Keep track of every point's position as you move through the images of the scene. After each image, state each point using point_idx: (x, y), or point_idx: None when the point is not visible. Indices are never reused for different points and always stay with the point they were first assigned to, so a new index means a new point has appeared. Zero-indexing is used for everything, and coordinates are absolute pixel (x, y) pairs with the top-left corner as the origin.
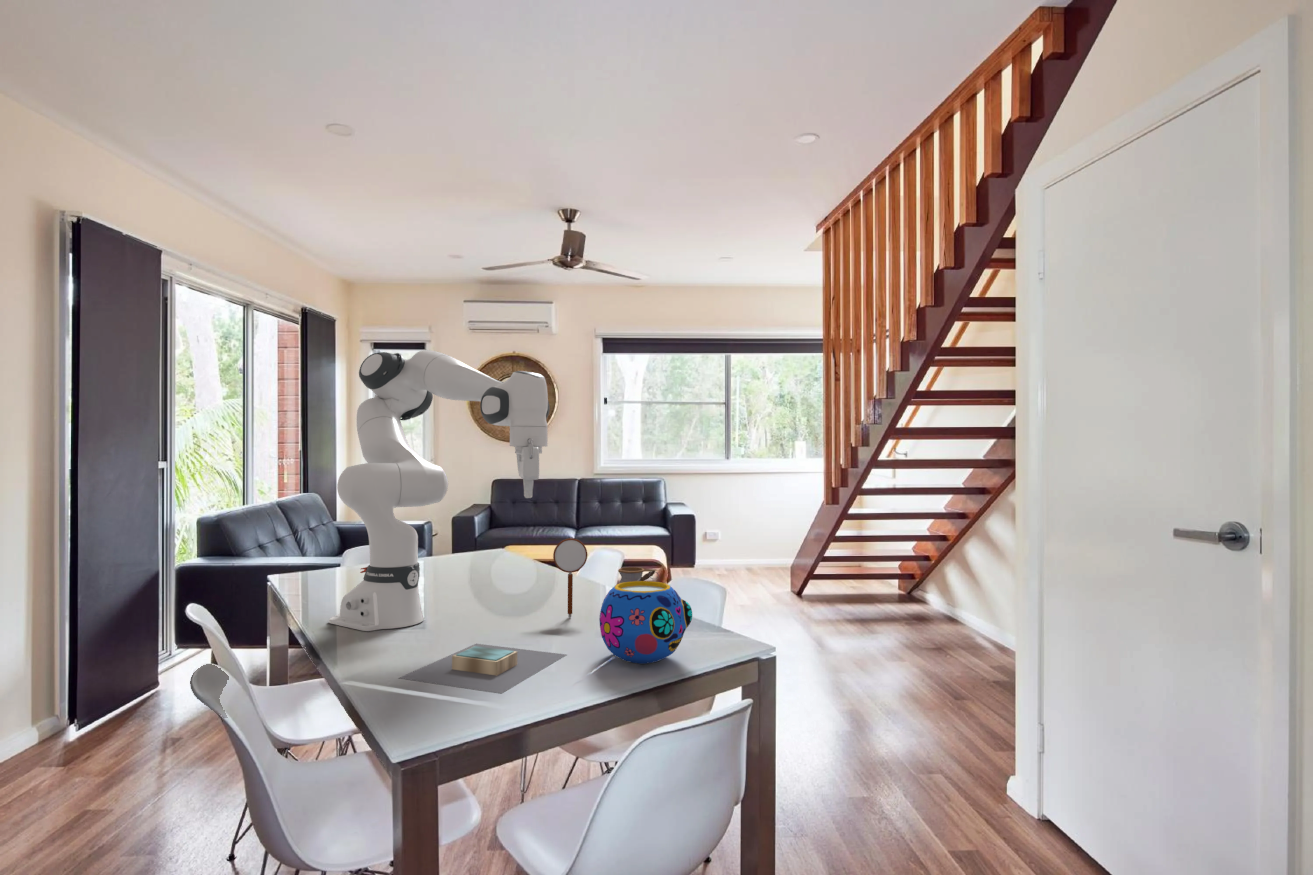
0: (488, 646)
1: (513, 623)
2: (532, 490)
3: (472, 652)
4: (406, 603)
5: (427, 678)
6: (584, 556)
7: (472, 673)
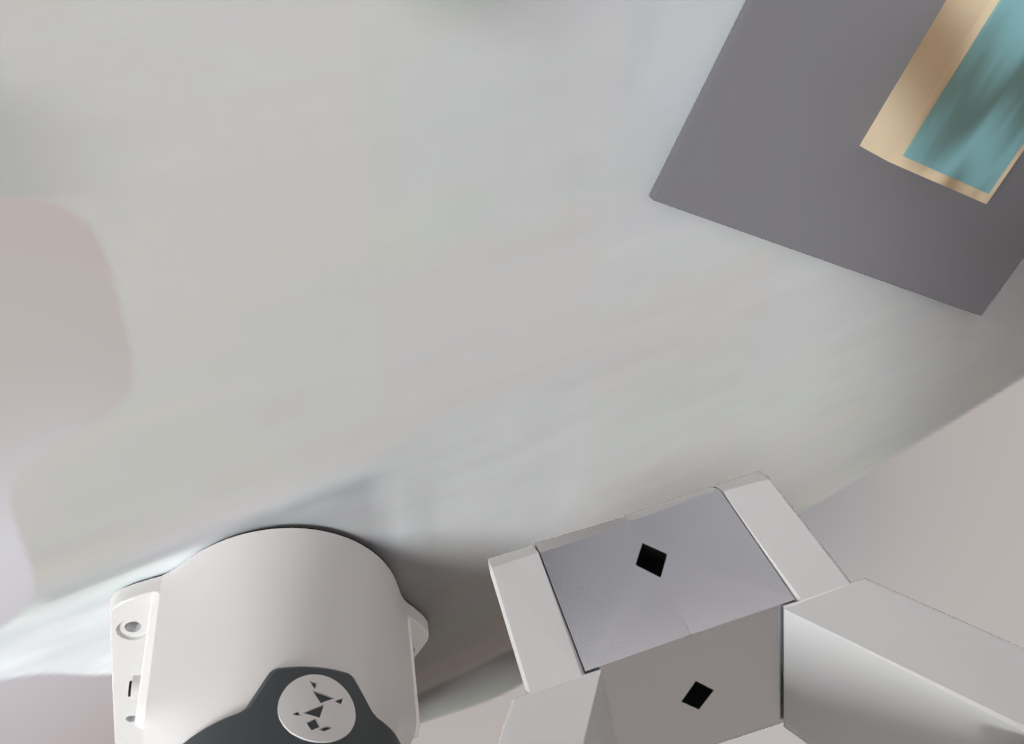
0: (705, 134)
1: (223, 124)
2: (845, 580)
3: (984, 140)
4: (347, 621)
5: (1016, 231)
6: None
7: None
